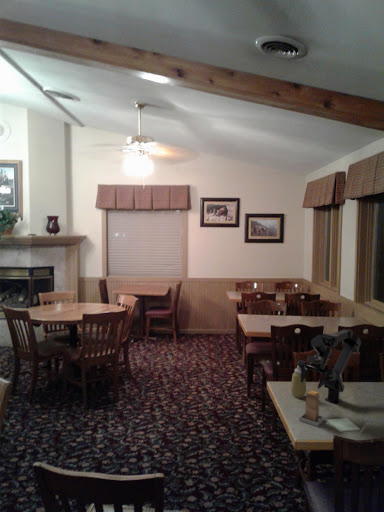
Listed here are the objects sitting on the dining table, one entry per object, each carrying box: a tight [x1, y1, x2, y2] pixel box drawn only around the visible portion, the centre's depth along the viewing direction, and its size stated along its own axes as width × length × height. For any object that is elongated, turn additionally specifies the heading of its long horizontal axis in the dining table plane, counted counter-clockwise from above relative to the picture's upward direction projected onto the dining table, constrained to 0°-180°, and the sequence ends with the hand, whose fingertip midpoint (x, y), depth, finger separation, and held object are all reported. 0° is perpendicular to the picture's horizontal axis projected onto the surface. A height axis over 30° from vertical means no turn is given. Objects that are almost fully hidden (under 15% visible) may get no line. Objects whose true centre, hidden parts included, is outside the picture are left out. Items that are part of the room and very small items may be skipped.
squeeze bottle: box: [290, 365, 307, 399], centre depth 206 cm, size 8×8×18 cm
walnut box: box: [304, 389, 320, 422], centre depth 178 cm, size 4×4×13 cm
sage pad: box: [326, 417, 361, 433], centre depth 175 cm, size 10×10×1 cm
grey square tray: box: [298, 412, 325, 428], centre depth 179 cm, size 9×9×2 cm
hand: (309, 385), depth 186 cm, fingers open, 9 cm apart
